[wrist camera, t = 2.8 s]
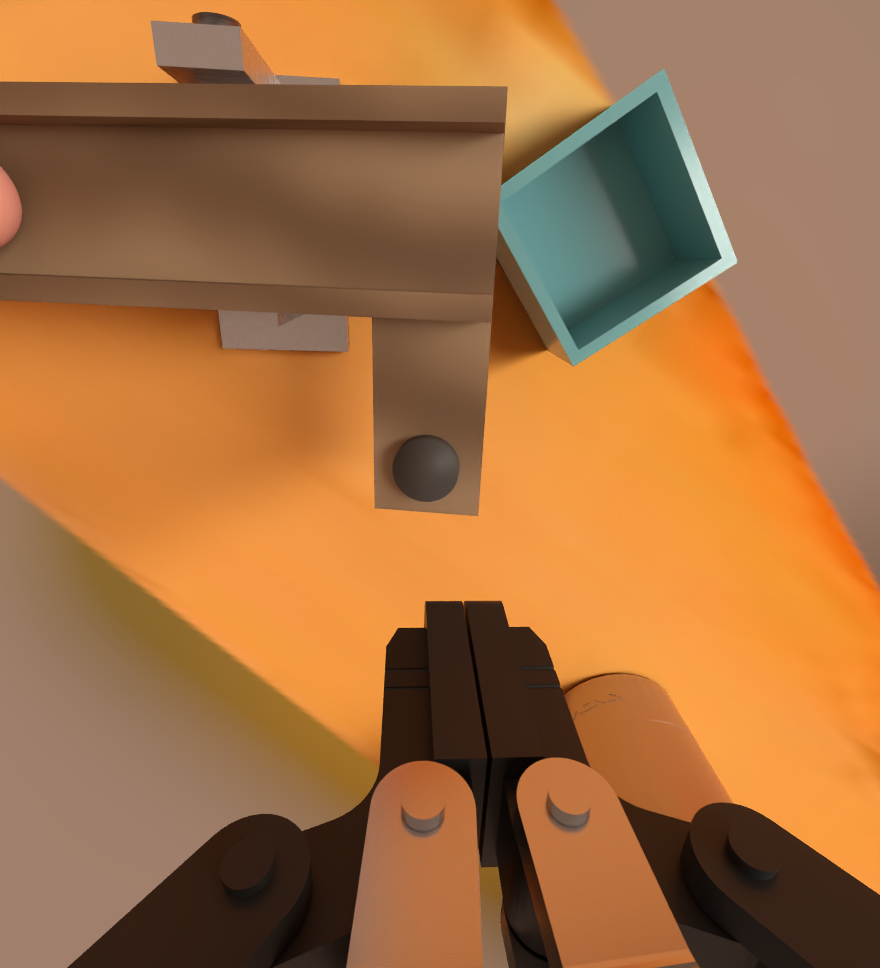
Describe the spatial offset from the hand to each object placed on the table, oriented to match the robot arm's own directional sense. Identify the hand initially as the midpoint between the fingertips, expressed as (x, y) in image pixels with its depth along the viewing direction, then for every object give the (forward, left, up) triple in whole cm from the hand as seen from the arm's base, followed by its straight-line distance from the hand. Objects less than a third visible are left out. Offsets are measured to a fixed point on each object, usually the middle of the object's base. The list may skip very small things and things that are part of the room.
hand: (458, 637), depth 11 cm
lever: (+8, +3, -13) cm, 15 cm away
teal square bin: (+3, -10, -19) cm, 22 cm away
